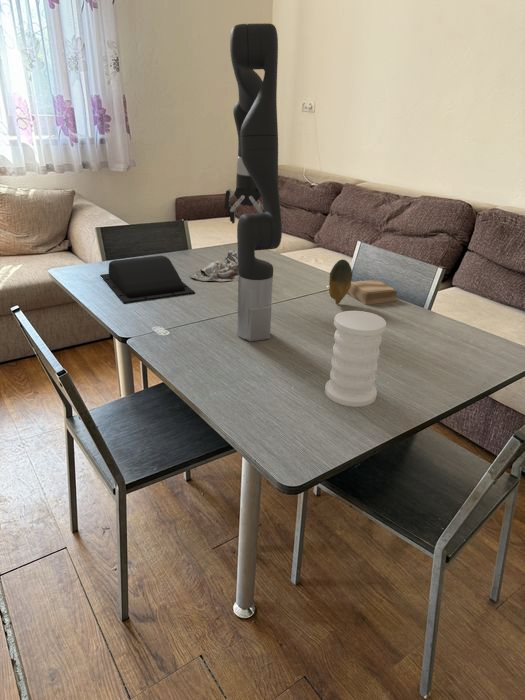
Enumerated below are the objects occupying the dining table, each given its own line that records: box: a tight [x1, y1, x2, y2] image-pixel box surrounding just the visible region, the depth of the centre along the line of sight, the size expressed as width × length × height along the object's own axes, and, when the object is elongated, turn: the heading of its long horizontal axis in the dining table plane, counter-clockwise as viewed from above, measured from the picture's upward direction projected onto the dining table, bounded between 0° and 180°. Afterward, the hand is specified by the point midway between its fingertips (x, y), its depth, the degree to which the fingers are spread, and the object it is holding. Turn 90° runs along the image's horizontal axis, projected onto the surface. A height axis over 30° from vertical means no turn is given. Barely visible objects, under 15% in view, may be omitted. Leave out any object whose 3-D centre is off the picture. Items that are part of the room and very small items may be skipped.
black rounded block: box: [99, 255, 196, 304], centre depth 176 cm, size 24×8×30 cm
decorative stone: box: [328, 259, 353, 305], centre depth 164 cm, size 10×6×15 cm, turn 131°
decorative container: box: [324, 310, 387, 408], centre depth 112 cm, size 12×12×18 cm
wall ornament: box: [188, 249, 239, 282], centre depth 192 cm, size 19×10×30 cm
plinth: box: [347, 279, 398, 305], centre depth 175 cm, size 12×12×4 cm
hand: (246, 224), depth 166 cm, fingers open, 8 cm apart
